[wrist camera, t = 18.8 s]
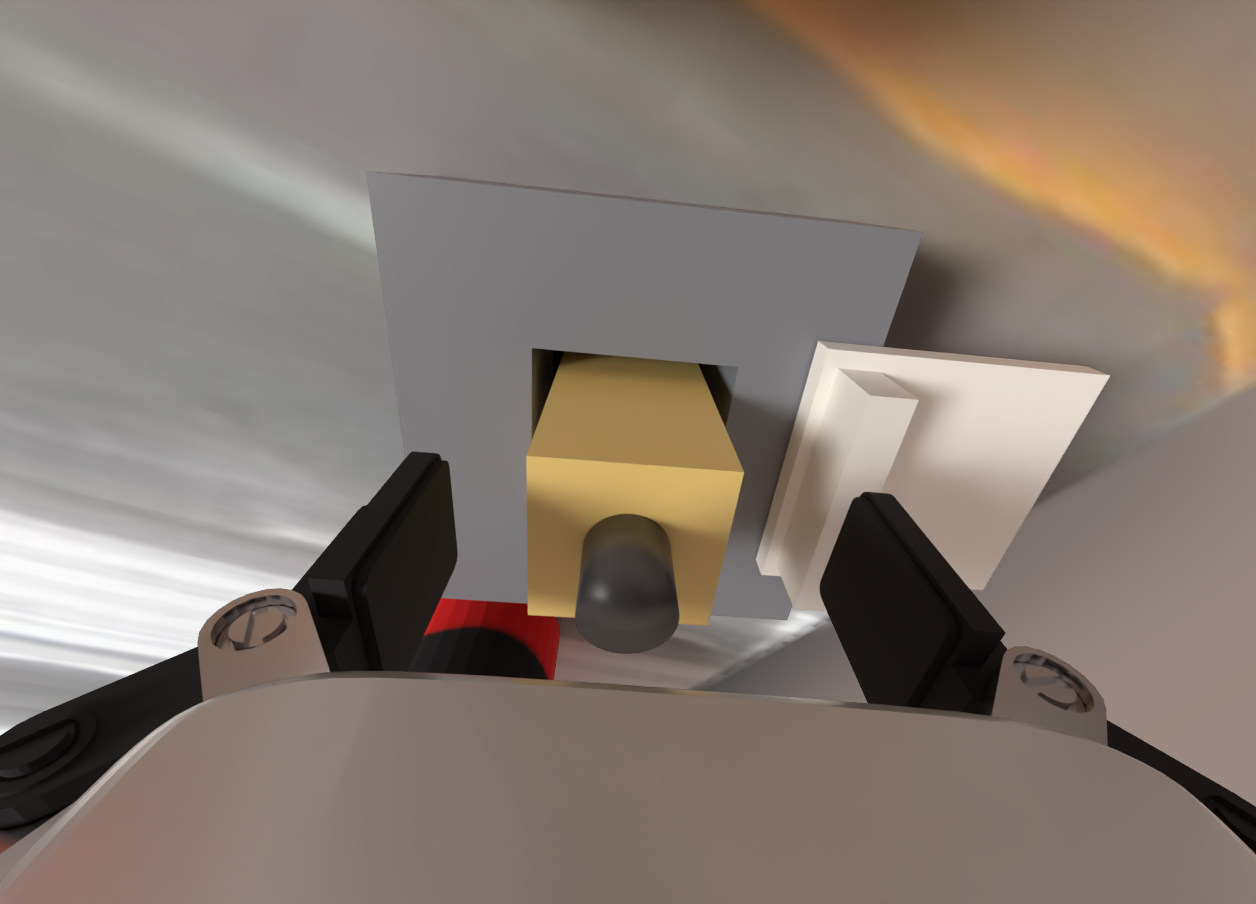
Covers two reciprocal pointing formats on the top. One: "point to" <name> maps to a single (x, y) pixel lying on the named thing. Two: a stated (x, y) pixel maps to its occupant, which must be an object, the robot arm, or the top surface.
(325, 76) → the top surface
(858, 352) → the plate
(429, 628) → the soda can
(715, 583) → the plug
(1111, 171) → the top surface
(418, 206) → the socket housing
